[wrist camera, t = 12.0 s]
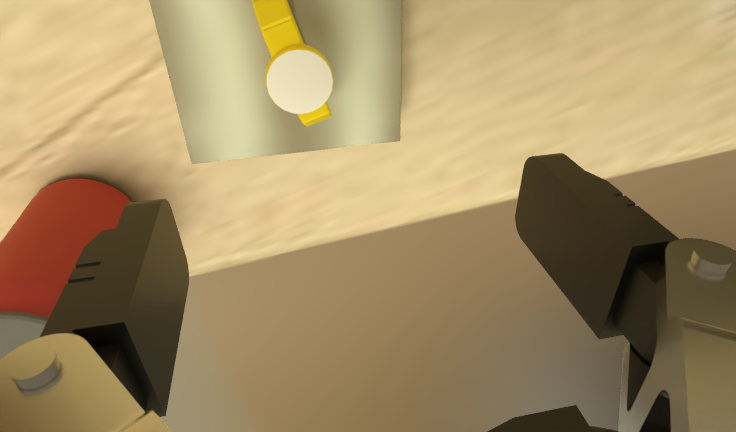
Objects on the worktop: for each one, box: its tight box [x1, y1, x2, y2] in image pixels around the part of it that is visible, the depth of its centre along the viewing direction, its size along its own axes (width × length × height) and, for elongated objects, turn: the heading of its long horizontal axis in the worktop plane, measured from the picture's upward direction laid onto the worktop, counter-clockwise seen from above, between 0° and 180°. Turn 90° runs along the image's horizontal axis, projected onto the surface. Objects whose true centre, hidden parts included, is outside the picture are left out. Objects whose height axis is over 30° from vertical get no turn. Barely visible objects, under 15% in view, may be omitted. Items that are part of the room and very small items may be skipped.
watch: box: [252, 0, 334, 127], centre depth 22 cm, size 6×3×6 cm, turn 18°
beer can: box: [0, 178, 132, 360], centre depth 27 cm, size 7×7×12 cm
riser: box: [150, 0, 402, 164], centre depth 26 cm, size 12×12×4 cm
